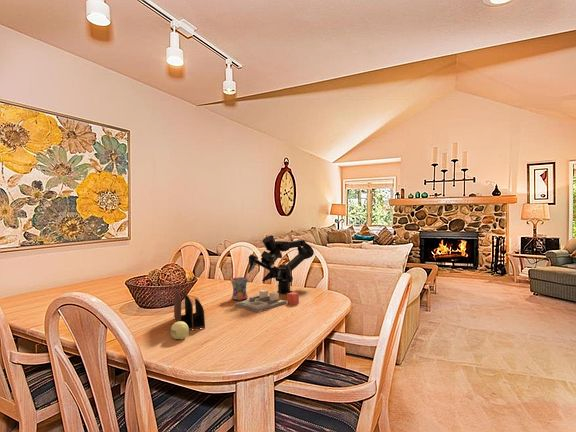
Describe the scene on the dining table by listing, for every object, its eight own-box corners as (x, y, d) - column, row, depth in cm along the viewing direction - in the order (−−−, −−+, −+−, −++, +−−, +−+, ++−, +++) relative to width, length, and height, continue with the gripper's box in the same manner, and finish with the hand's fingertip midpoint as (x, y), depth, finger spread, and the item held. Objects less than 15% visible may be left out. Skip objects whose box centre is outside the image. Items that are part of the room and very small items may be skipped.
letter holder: (179, 333, 130) (178, 297, 130) (174, 318, 148) (173, 287, 148) (205, 328, 135) (204, 293, 134) (197, 315, 153) (196, 284, 152)
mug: (244, 301, 173) (243, 281, 173) (227, 300, 176) (227, 280, 176) (253, 295, 185) (252, 276, 185) (237, 295, 188) (237, 276, 187)
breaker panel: (264, 297, 180) (264, 292, 180) (286, 303, 168) (286, 297, 168) (235, 305, 166) (235, 299, 166) (257, 312, 155) (257, 306, 155)
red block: (293, 301, 171) (292, 291, 171) (298, 303, 168) (298, 293, 168) (287, 303, 168) (287, 293, 168) (293, 304, 165) (293, 294, 165)
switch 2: (273, 299, 172) (273, 292, 172) (278, 300, 169) (278, 293, 169) (269, 300, 169) (269, 293, 169) (274, 301, 167) (274, 294, 167)
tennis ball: (168, 320, 125) (176, 324, 120) (184, 318, 130) (193, 322, 125) (166, 338, 124) (174, 342, 120) (183, 335, 129) (191, 339, 124)
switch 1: (263, 296, 177) (263, 289, 177) (268, 297, 175) (268, 290, 175) (259, 297, 175) (259, 290, 175) (263, 298, 173) (263, 291, 173)
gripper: (257, 240, 181) (239, 259, 171) (287, 255, 174) (270, 275, 164) (257, 253, 188) (240, 272, 178) (285, 268, 182) (270, 288, 172)
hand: (255, 276), depth 173 cm, fingers open, 9 cm apart
